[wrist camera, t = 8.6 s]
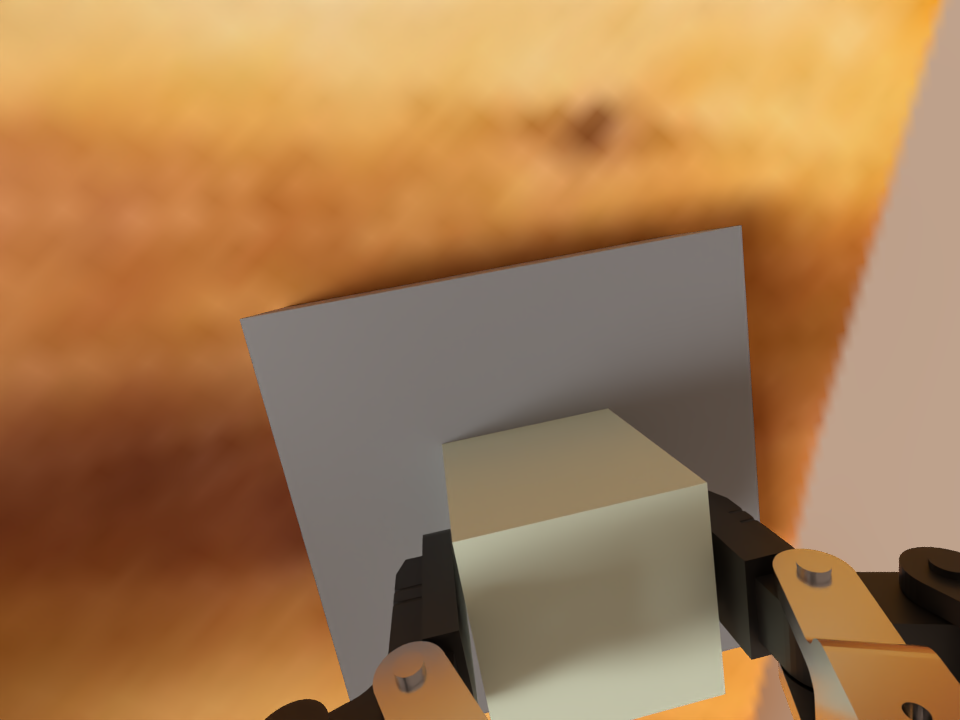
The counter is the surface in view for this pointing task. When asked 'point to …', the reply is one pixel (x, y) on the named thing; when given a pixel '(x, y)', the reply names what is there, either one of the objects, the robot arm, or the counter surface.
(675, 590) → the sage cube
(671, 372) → the plinth
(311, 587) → the counter surface
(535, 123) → the counter surface
